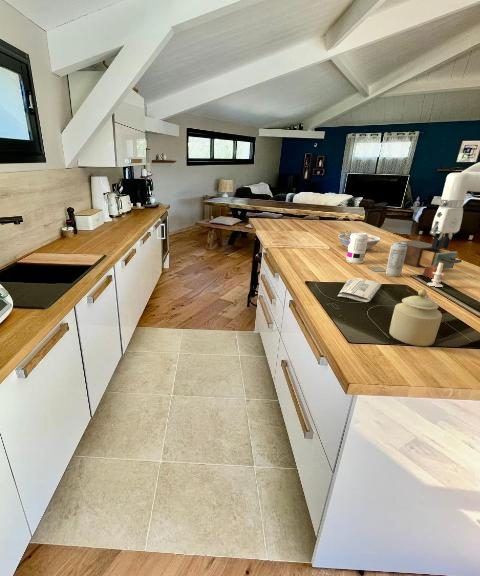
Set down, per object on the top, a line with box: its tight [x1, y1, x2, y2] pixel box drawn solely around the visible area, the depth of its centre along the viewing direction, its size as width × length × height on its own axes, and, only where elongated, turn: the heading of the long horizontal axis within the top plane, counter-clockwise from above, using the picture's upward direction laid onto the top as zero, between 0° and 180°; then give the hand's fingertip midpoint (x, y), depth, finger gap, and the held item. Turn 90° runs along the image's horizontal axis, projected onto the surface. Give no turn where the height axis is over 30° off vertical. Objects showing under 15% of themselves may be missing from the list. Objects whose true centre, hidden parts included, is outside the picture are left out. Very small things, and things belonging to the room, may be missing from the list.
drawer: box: [418, 248, 463, 270], centre depth 149 cm, size 18×11×8 cm, turn 14°
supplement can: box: [345, 231, 369, 265], centre depth 160 cm, size 8×8×15 cm
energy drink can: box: [385, 241, 407, 278], centre depth 140 cm, size 6×6×15 cm
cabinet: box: [399, 239, 442, 268], centre depth 160 cm, size 15×13×10 cm
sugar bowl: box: [388, 288, 443, 347], centre depth 90 cm, size 15×11×15 cm
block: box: [422, 265, 444, 280], centre depth 138 cm, size 5×5×5 cm
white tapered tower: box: [427, 262, 445, 288], centre depth 127 cm, size 5×5×10 cm
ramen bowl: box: [337, 230, 381, 250], centre depth 187 cm, size 25×23×8 cm
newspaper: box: [337, 277, 382, 303], centre depth 125 cm, size 23×12×2 cm, turn 141°
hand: (439, 247), depth 135 cm, fingers open, 3 cm apart
